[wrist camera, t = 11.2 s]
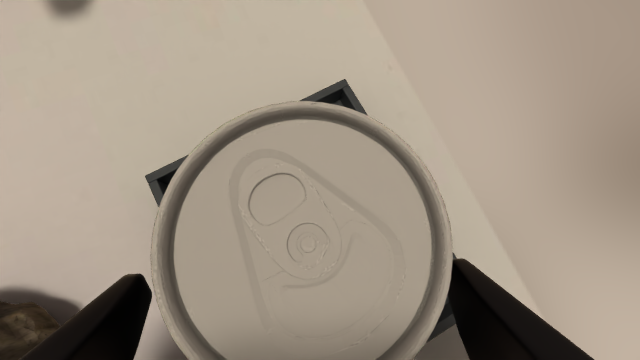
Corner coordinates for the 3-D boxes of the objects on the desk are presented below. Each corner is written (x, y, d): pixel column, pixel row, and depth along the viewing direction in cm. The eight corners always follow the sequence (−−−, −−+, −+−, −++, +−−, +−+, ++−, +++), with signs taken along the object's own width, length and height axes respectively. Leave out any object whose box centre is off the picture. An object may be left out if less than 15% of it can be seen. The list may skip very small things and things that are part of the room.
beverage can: (294, 324, 16) (250, 541, 4) (231, 227, 17) (62, 197, 5) (386, 254, 17) (548, 281, 5) (321, 166, 18) (341, 29, 6)
